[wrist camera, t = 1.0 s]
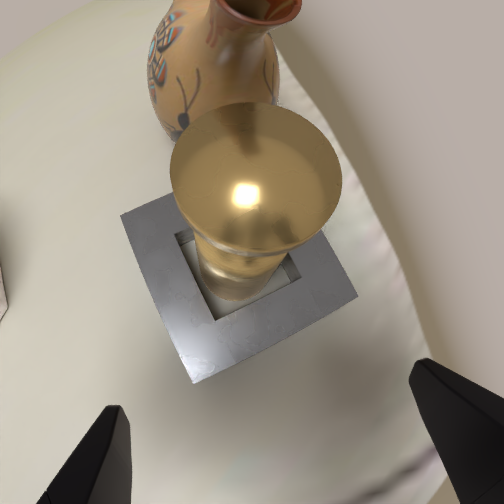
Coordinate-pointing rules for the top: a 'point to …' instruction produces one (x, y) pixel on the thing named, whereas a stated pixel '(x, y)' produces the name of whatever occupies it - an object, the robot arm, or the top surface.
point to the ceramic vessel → (214, 57)
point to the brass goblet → (252, 191)
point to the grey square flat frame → (243, 320)
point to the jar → (2, 297)
